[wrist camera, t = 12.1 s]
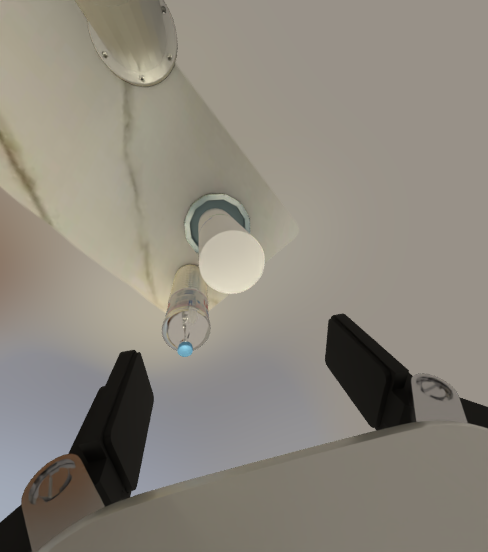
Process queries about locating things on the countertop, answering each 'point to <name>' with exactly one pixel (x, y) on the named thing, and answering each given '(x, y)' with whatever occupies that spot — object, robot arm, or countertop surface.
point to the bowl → (209, 202)
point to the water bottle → (187, 312)
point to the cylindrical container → (228, 253)
